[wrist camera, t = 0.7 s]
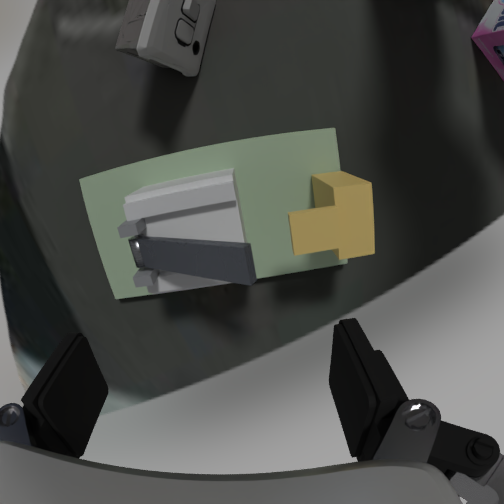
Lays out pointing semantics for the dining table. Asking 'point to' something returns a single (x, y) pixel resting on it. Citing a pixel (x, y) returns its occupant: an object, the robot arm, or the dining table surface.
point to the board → (259, 193)
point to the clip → (336, 217)
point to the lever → (196, 257)
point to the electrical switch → (167, 32)
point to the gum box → (492, 36)
